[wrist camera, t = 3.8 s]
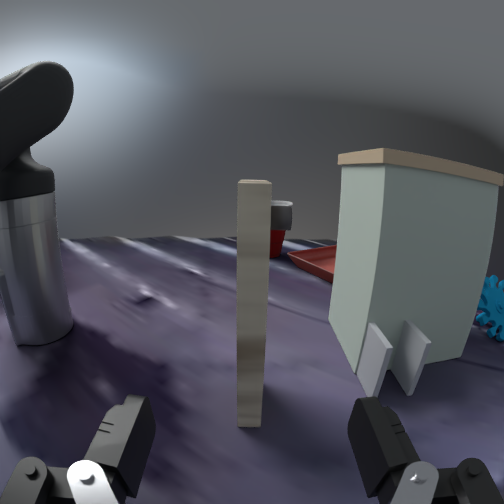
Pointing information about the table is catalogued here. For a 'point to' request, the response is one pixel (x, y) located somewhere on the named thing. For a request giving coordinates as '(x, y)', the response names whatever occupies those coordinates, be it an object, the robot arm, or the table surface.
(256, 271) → the tall wooden plank
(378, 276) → the cabinet
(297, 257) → the plant saucer
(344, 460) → the table surface
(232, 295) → the table surface
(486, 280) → the gear
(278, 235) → the plastic cup
